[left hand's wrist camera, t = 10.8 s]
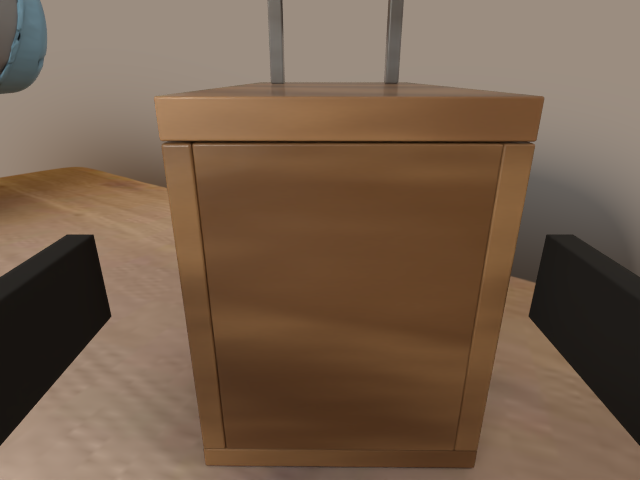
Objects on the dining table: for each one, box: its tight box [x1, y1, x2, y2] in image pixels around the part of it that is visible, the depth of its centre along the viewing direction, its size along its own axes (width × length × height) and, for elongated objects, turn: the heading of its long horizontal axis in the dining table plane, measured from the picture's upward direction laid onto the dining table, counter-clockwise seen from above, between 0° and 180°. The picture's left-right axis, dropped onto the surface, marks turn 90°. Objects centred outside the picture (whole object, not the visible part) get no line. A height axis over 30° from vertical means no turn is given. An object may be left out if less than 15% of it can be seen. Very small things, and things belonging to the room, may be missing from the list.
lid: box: [154, 0, 544, 142], centre depth 17 cm, size 18×9×8 cm, turn 179°
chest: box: [162, 141, 535, 468], centre depth 20 cm, size 17×9×11 cm, turn 179°
